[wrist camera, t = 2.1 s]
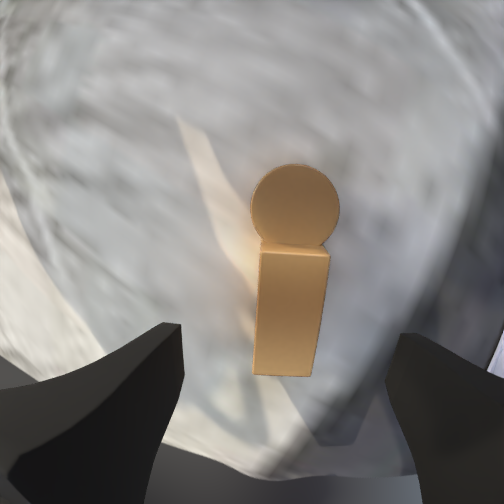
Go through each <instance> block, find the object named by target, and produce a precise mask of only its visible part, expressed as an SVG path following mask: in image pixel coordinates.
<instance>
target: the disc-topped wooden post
mask: <svg viewBox="0 0 504 504" xmlns="http://www.w3.org/2000/svg"><path fill="white" fill-rule="evenodd" d="M339 209H340V206H339V199H338V195H337V192H336V190H335V188H334V186H333V184H332V183H331V182H330V180H329V179H328V178H327V177H326V176H325V175H324V174H322V173H321V172H320V171H318V170H316V169H314V168H312V167H310V166H306V165H301V164H289V165H284V166H280V167H278V168H275V169H273V170H272V171H270V172H269V173H267V174H266V175H265V176H264V177H263V178H262V179H261V180H260V182H259V183H258V184H257V186H256V188H255V190H254V192H253V195H252V199H251V206H250V210H251V218H252V222H253V225H254V227H255V229H256V231H257V232H258V234H259V235H260V237H261V248H260V263H259V278H258V294H257V309H256V324H255V338H254V353H253V367H252V373H253V374H254V375H270V376H297V377H310V376H311V373H312V368H313V363H314V358H315V352H316V347H317V342H318V336H319V331H320V325H321V319H322V313H323V307H324V301H325V294H326V287H327V280H328V273H329V266H330V258H331V257H330V254H329V253H328V252H327V250H326V249H325V248H324V246H323V245H322V243H324V242H325V241H326V240H327V239H328V238H329V236H330V235H331V234H332V232H333V231H334V229H335V227H336V225H337V222H338V218H339Z"/></svg>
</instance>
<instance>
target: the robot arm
mask: <svg viewBox="0 0 504 504" xmlns="http://www.w3.org/2000/svg"><path fill="white" fill-rule="evenodd" d="M184 375H185V373H184V361H183V347H182V333H181V324H173V323H165V322H163V323H161V324H159V325H157V326H155V327H154V328H152V329H150V330H149V331H147V332H146V333H144V334H142V335H141V336H139V337H138V338H136V339H134V340H133V341H131V342H129V343H128V344H126V345H124V346H123V347H121V348H119V349H118V350H116V351H114V352H112V353H110V354H108V355H106V356H105V357H103V358H101V359H99V360H97V361H95V362H93V363H91V364H89V365H87V366H84V367H82V368H80V369H77V370H75V371H72V372H70V373H67V374H65V375H62V376H59V377H55V378H52V379H48V380H45V381H42V382H38V383H35V384H31V385H26V386H21V387H16V388H8V389H2V390H0V504H144V499H145V495H146V489H147V486H148V481H149V478H150V474H151V470H152V466H153V462H154V459H155V456H156V453H157V451H158V448H159V446H160V443H161V441H162V438H163V436H164V434H165V431H166V429H167V426H168V424H169V421H170V419H171V417H172V414H173V412H174V409H175V407H176V404H177V402H178V399H179V395H180V391H181V388H182V384H183V379H184ZM385 383H386V387H387V391H388V395H389V399H390V402H391V405H392V408H393V410H394V412H395V415H396V417H397V420H398V422H399V424H400V427H401V429H402V431H403V434H404V436H405V438H406V441H407V443H408V446H409V448H410V450H411V453H412V456H413V459H414V462H415V466H416V470H417V474H418V479H419V483H420V489H421V495H422V502H423V504H504V331H503V334H502V336H501V339H500V341H499V344H498V346H497V349H496V351H495V353H494V356H493V358H492V360H491V363H490V365H489V367H488V369H487V371H486V370H484V369H482V368H480V367H478V366H476V365H474V364H472V363H470V362H469V361H467V360H465V359H463V358H461V357H460V356H458V355H456V354H454V353H453V352H451V351H449V350H447V349H446V348H444V347H442V346H441V345H439V344H437V343H435V342H433V341H432V340H430V339H428V338H426V337H424V336H422V335H419V334H417V333H401V334H400V337H399V340H398V343H397V347H396V350H395V353H394V356H393V359H392V362H391V365H390V368H389V371H388V373H387V376H386V379H385Z"/></svg>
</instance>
